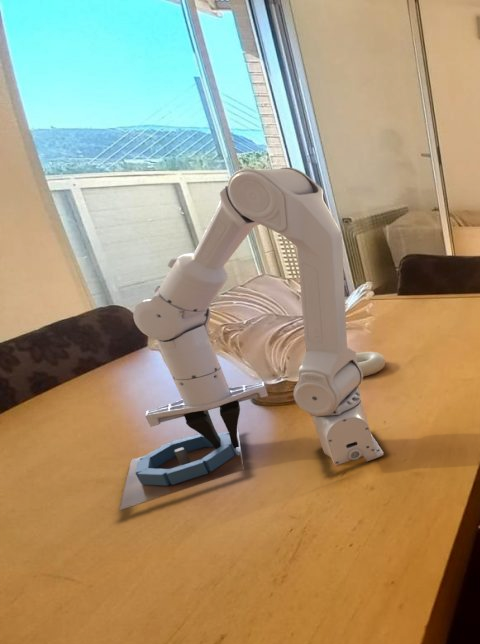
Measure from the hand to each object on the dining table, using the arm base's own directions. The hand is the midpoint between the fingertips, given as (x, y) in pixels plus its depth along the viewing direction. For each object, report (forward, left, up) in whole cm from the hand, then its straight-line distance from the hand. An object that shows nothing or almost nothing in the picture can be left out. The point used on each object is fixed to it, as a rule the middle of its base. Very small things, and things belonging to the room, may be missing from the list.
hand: (228, 447), depth 78 cm
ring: (0, +5, -1) cm, 5 cm away
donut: (+24, -25, -2) cm, 35 cm away
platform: (0, +6, -2) cm, 6 cm away
